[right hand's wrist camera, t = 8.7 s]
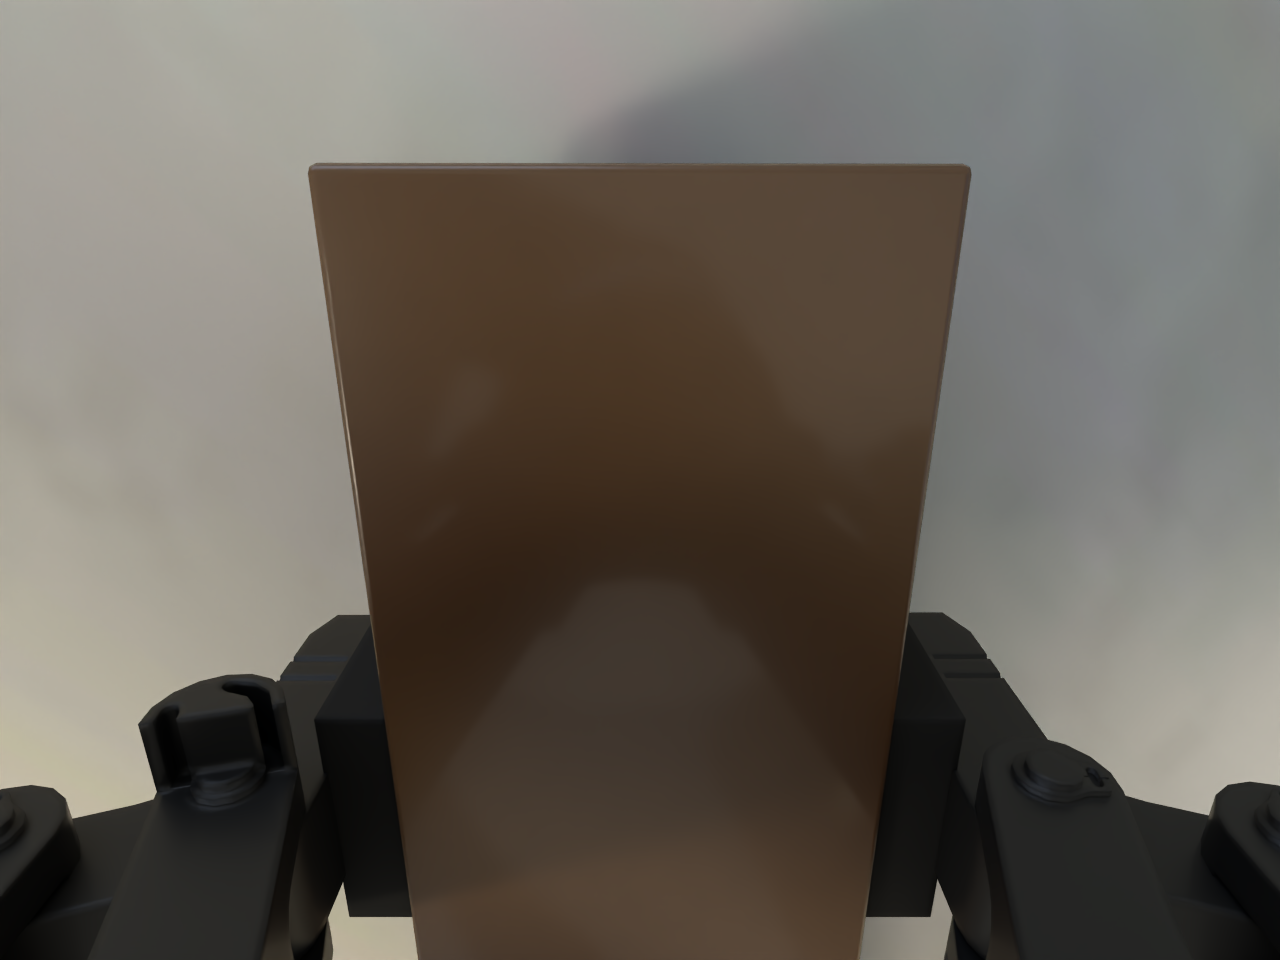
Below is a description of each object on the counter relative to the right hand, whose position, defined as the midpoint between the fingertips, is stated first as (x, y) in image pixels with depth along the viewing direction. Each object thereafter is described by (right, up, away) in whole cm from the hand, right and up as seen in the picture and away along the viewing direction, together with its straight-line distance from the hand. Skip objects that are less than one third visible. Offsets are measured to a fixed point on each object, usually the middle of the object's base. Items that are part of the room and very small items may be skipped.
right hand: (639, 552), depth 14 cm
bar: (0, -22, +9) cm, 24 cm away
